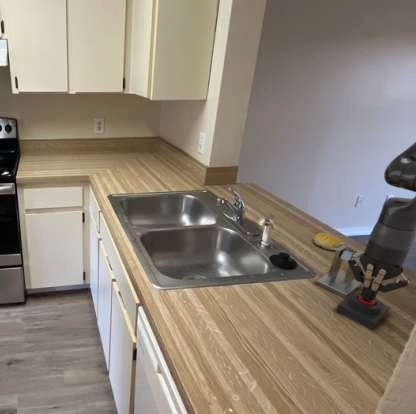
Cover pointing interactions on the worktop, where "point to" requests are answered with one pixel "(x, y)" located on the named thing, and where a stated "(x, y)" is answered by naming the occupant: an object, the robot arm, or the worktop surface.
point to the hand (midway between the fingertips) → (366, 299)
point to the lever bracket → (340, 276)
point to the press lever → (348, 254)
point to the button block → (363, 310)
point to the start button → (366, 301)
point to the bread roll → (328, 241)
